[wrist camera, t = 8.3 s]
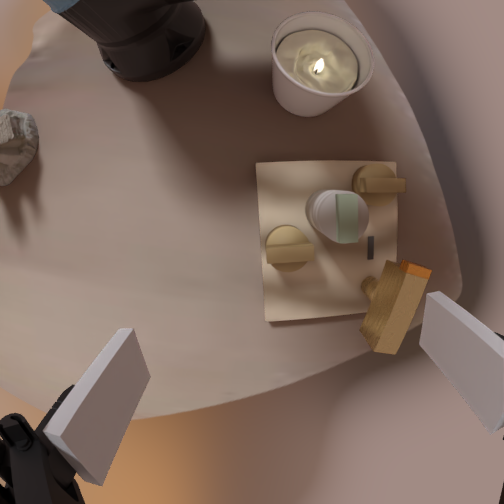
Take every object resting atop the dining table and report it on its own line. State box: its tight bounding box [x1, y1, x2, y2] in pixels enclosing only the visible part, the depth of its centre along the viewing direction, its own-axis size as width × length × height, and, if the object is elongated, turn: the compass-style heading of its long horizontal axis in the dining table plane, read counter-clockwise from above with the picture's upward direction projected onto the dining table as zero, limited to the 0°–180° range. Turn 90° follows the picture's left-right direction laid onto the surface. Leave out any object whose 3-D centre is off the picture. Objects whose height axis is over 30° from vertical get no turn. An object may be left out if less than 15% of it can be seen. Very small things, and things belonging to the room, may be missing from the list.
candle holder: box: [271, 11, 374, 117], centre depth 26 cm, size 10×10×12 cm
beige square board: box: [256, 160, 406, 322], centre depth 31 cm, size 20×18×11 cm
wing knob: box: [360, 259, 432, 354], centre depth 31 cm, size 3×10×10 cm, turn 165°
